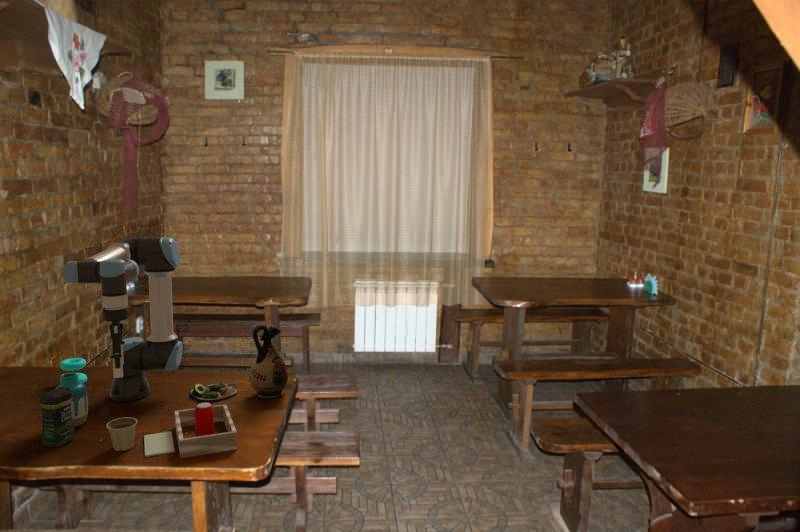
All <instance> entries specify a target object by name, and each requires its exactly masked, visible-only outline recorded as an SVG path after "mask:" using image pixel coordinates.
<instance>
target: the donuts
mask: <svg viewBox="0 0 800 532" xmlns="http://www.w3.org/2000/svg"><path fill="white" fill-rule="evenodd" d="M86 365H87V361H86V360H85V359H84V358H82V357H72V358H66V359H64V360H62V361H60V363H59V367H60V369H61V370H63V371H66V372H73V371H74V372H75V371H78V370H81V369H83V368H85V367H86ZM76 373H77V375H78V381H79V382H80V383H83V384H84V383H86V382H87V381H88V377H87V375H86V374H85V373H82V372H76Z"/></svg>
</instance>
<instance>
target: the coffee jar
mask: <svg viewBox="0 0 800 532" xmlns="http://www.w3.org/2000/svg"><path fill="white" fill-rule="evenodd" d="M71 393H72V392H71V390H70V388H66V387H58V388H56V387H55V388H54V389H52V390H50V391H47V392H45V393H43V394H41V395H40V397H39V406H40V408H41V413H42V431H41V432H42V434H41V441H42V442H41V444H42V446H45V447H48V448H54V447H55V448H57V447H59V448H60V447H62V446H64V445H66V444H68V443H70V442H71V441H73V440H74V439H75V437H76V435H75V427H74V426H73V420H72V413H71V402H72V394H71Z"/></svg>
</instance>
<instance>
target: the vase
mask: <svg viewBox="0 0 800 532" xmlns="http://www.w3.org/2000/svg"><path fill="white" fill-rule="evenodd" d="M77 373H78V372H66V373H63V374H61V375H60V381H59V382H60V383H59V385H58V386H56V387H55V389H56V388H58V387H66V388H70V390H71V392H72V393H71V394H72V402H71V413H72V420H73V426H74V428H76V427H79V426H81V425H83V424H84V423H85V422H86V420H87V418H88V413H89V402H88V401H89V399H88V393H87V387H86V385H85V384H84V383H80V382H79V381H78V375H77Z"/></svg>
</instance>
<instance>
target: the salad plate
mask: <svg viewBox="0 0 800 532" xmlns="http://www.w3.org/2000/svg"><path fill="white" fill-rule="evenodd" d="M236 385H237V383H227V382H225V383H223V382H214V383H212V384H209V385H204V384H202V383H195V384H194V386H193V387H190V391H189V392H190V393H189V394H190V396H191V397H192V398H193V399H194V398H195V399H194V400H196V401H197V400H198V402H200V401H201V402H200V403H205V402H206V403H215V402H219V401H222V400H225V398H226V399H228V398H230V397H233V396H234V395H236V394H237V393H238V390H237V389H235V388H234V386H235V387H236ZM225 392H227V394H228V395H226V396H222V393H224V394H225ZM229 393H230V394H229ZM203 398H204V399H203ZM221 399H222V400H221ZM214 401H215V402H214Z"/></svg>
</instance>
